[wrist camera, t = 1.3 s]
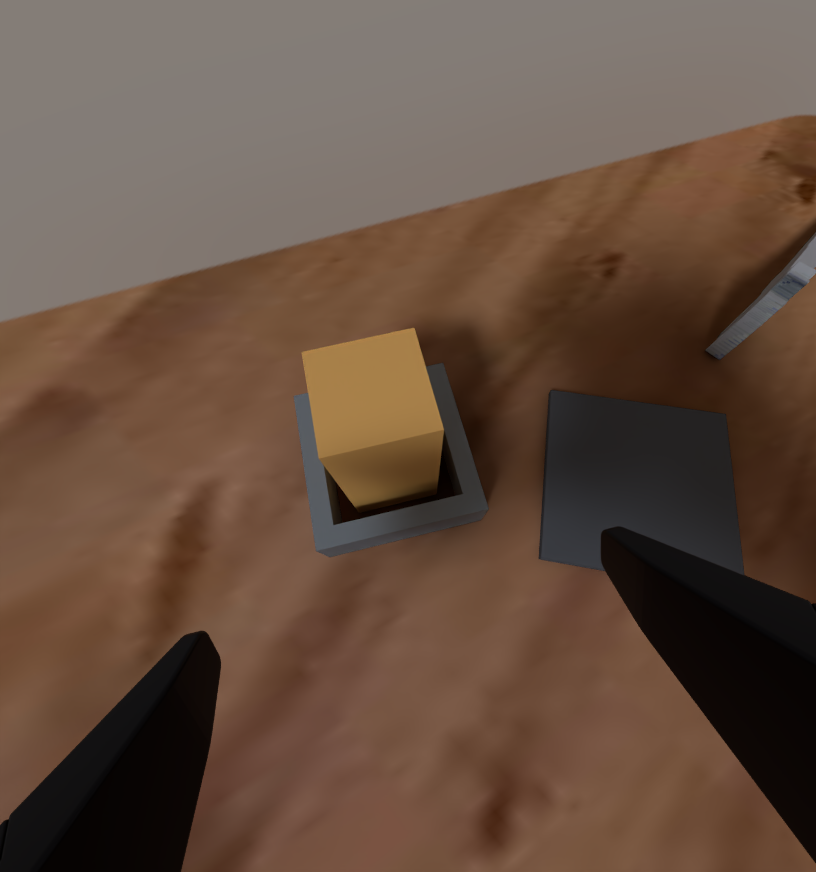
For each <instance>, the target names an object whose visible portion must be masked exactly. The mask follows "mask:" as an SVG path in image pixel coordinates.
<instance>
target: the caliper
mask: <svg viewBox="0 0 816 872" xmlns="http://www.w3.org/2000/svg"><path fill="white" fill-rule="evenodd" d="M815 267H816V232H815V234H814V235H813V236H812V237H811V238H810V239H809V240H808V242H807V243H806V244H805V245H804V246H803V247H802V248H801V250H800V251H799V252H798V253H797V254H796V255H795V257H794V258H793V259H792V260H791V261H790V262H789V263H788V265H787V266H786V267H785V268H784V269H783V270H782V271H781V272H780V273H779V274H778V275H777V276H776V277H775V278H774V279H773V280H772V281H771V282H770V283H769V285H768V286H767V287H766V288H765V289H764V290H763V291H762V293H761V295H760V296H759V297H758V298H757V299H756V300H755V301H754V302H753V303H752V304H751V305H750V306H749V307H748V308H746V309H745V310H744V311H743V312H742V313H741V314H740V315H739V316H738V317H737V318H736V319H735V320H734V321H733V322H732V323H731V324H730V325H729V326H728V327H727V328H726V329H725V330H724V331H723V332H722V333H721V334H720V335H719V336H718V339H717V340H716V341H714V342H713V343H712V344H711V345H710V346H709V347H708V348H707V349H706V350H705V351H707V352H708V353H710V354H711V355H713V356H714V357H716V358H717V359H719V360H720V359H721V358H723V357H724V356H725V355H726V354H728V353H729V352H730V351H731V350H732V349H734V348H735V347H736V346H737V345H738V344H740V343H741V342H742V341H743V340H745V339H746V338H747V337H748V336H749V335H751V334H752V333H753V332H754V331H755V330H756V329H758V328H759V327H760V326H761V325H762V324H763V323H764V322H766V321H767V320H768V319H769V318H770V317H771V316H772V315H774V314H775V313H776V312H777V311H778V310H779V309H780V308H782V307H783V306H784V305H785V304H786V303H787V301H788V300H789V299H790V298H791V297H792V296H794V295H795V294H796V293H797V292H798V291H799V290H800V289H802V288H803V287H804V286H805V285H806V284H807V283H808V282H810V281H809V279H810V278H811V277H812V276H813V275H814V274H815V273H816V270H814V268H815Z"/></svg>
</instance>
